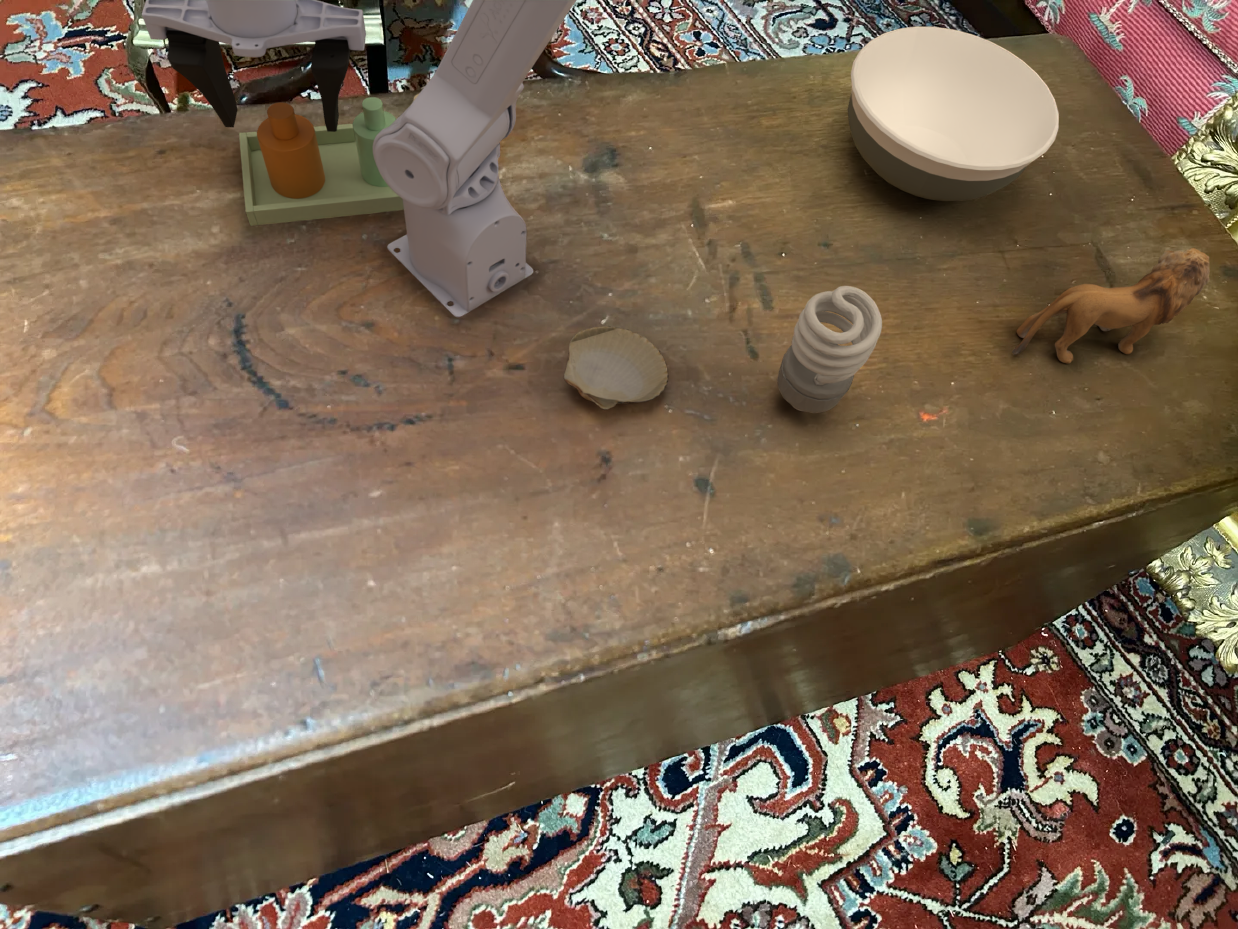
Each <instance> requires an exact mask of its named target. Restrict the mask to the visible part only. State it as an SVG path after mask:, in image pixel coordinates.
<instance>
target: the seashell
mask: <svg viewBox="0 0 1238 929" xmlns="http://www.w3.org/2000/svg"><path fill="white" fill-rule="evenodd" d="M567 354H568V360H567V363H566V366H565V367H566V369H565V370H564V374H563V379H564V381H565V383H567V385H568V386H569V385H570V386H572V387H573V388H575V389H576V390H577V392H578V394H579V395H580V396H581V397H582V398H584V399H585V400H587V401H590V402H593V403H595V404H596V405H597V406H598V407H599V408H600V409H601V410H606V411H608V410H610V409H613V408H615V406H616V405H621V404H635V403H637V404H638V403H645V402H649V401H652V400H654V399H655V398H656V397H659V396H660V395H661V394H662V392H664V390H665V389H666V387H667V384H668V382H669V370H668V366H667V365H668V364H667V362H666V359H665V358H664V356H663V355H662V353H661V350H659V348H657V347H656V346H655V345H654V343H652V341H649V340H648V338H646V337H645V336H642V335H641V334H639V333H638V332H633V331H631V330H630V329H623V328H621V327H617V326H615V327H614V326H611V325H608V326H607V325H606V326H604V325H600V326H593V327H590V328H586V329H583V330H581V331H578V332H577V333H575V334H574V335H573V337H572V339H571V340H570V342H569V343H568V353H567Z"/></svg>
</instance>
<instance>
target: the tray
mask: <svg viewBox="0 0 1238 929" xmlns="http://www.w3.org/2000/svg"><path fill="white" fill-rule="evenodd" d="M314 129H315V134H316V138H317V143H318V147H319V152H320V156H321V161H322V165H323V170H324V174H325V183H324V185H323V187H322V188H321V189H320V191H318V192H317V193H316V194H314V195H312V196H309V197H306V198H299V199H294V198H287V197H284V196H282V195H280V194H278V193H277V192H276V191H275V190H274V189H273V187H272V185H271V182H270V179H269V175H268V172H267V169H266V165H265V162H264V158H263V155H262V151H261V148H260V145H259V141H258V138H257V131H247V132H238V137H239V151H240V162H241V174H242V186H243V197H244V208H245V209H244V210H245V214H246V217H247V221H248V223H249V226H250V227H254V226H264V225H273V224H282V223H283V224H285V223H292V222H302V221H311V220H320V219H329V218H340V217H350V216H359V215H368V214H379V213H387V212H397V211H398V212H399V211H404V207H403V199H402V198H401V197H400V196H398V195H397V194H396V193H395V192H394V191H393V190H392V189H391V188H390V187H389V186H388V187H377V186H373V185H371V184H369V183H367V182H366V181H365V180H364V179H363V177H362V175H361V170H360V165H359V159H358V154H357V148H356V142H355V137H354V131H353V123H344V124H338V126H337V131H336V132H327V129H326V125H318V126H314Z"/></svg>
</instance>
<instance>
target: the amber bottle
mask: <svg viewBox="0 0 1238 929" xmlns="http://www.w3.org/2000/svg"><path fill="white" fill-rule="evenodd" d="M266 114H267V118H265V119H264V120H262V122H260V124H259V125H258V126H257V130H256V132H257V138H258V141H259V145H260V148H261V151H262V155H263V158H264V162H265V165H266V169H267V172H268V175H269V179H270V182H271V185H272V187H273V189H274V190H275V191H276V192H277V193H278V194H280V195H282V196H284V197H287V198H294V199H299V198H306V197H309V196H312V195H314V194H316V193H317V192H318V191H320V189H321V188H322V187H323V185H324V183H325V174H324V170H323V165H322V161H321V156H320V152H319V147H318V143H317V138H316V134H315V129H314V127H315V126H314V125H313V123H312V121H310V120H309V119H308V118H307V117H305V116H302V115H301V114H297V113H295V109H294V107H293V105H291V104H289V103H287V102H275V103H272V104H271V105H269V106H268V108H267V109H266Z"/></svg>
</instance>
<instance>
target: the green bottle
mask: <svg viewBox="0 0 1238 929" xmlns="http://www.w3.org/2000/svg"><path fill="white" fill-rule="evenodd" d="M361 107H362V108H361V109H362V112H360V113H359V114H357V115H356V116H355V118H354V119H353V120H352V124H353V131H354V137H355V142H356V148H357V154H358V159H359V165H360V170H361V175H362V177H363V179H364V180H365V181H366V182H367V183H369V184H371V185H373V186H377V187H388V185H387V183H386V182H385V181H384V179H383V177H382V176H381V174H380V172H379V170H378V168H377V166H376V163H375V160H374V156H373V142H374V140H375V137H376V136H377V135H378V133H379V132H380V131H381V130H382V129H384V128H387V127H389V126H390V125H391V124H392V123H393V122H394V121H395V120H396V119H397V117H395V115H394V114H392V113H390V112H389V111H386V110H385V109H384V103H383V101H382V100H381V99H380V98H379V97H374V96H369V97H366V98H364V99H363V100H362V102H361Z"/></svg>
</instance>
